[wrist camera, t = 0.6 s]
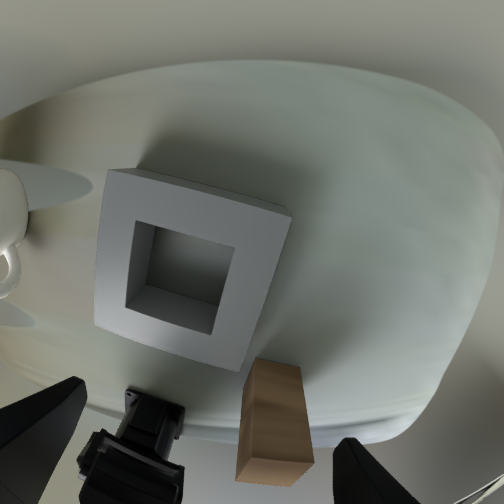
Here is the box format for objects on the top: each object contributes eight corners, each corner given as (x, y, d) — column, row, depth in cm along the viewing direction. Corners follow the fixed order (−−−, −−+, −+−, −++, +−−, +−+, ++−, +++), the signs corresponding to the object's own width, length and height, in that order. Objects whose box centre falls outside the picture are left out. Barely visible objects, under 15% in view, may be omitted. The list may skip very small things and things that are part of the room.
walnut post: (284, 396, 24) (290, 486, 14) (243, 388, 24) (235, 480, 14) (299, 367, 23) (314, 463, 13) (255, 358, 22) (251, 457, 13)
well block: (242, 340, 22) (239, 372, 18) (116, 301, 21) (94, 324, 17) (285, 207, 19) (292, 217, 15) (135, 168, 18) (107, 169, 14)
